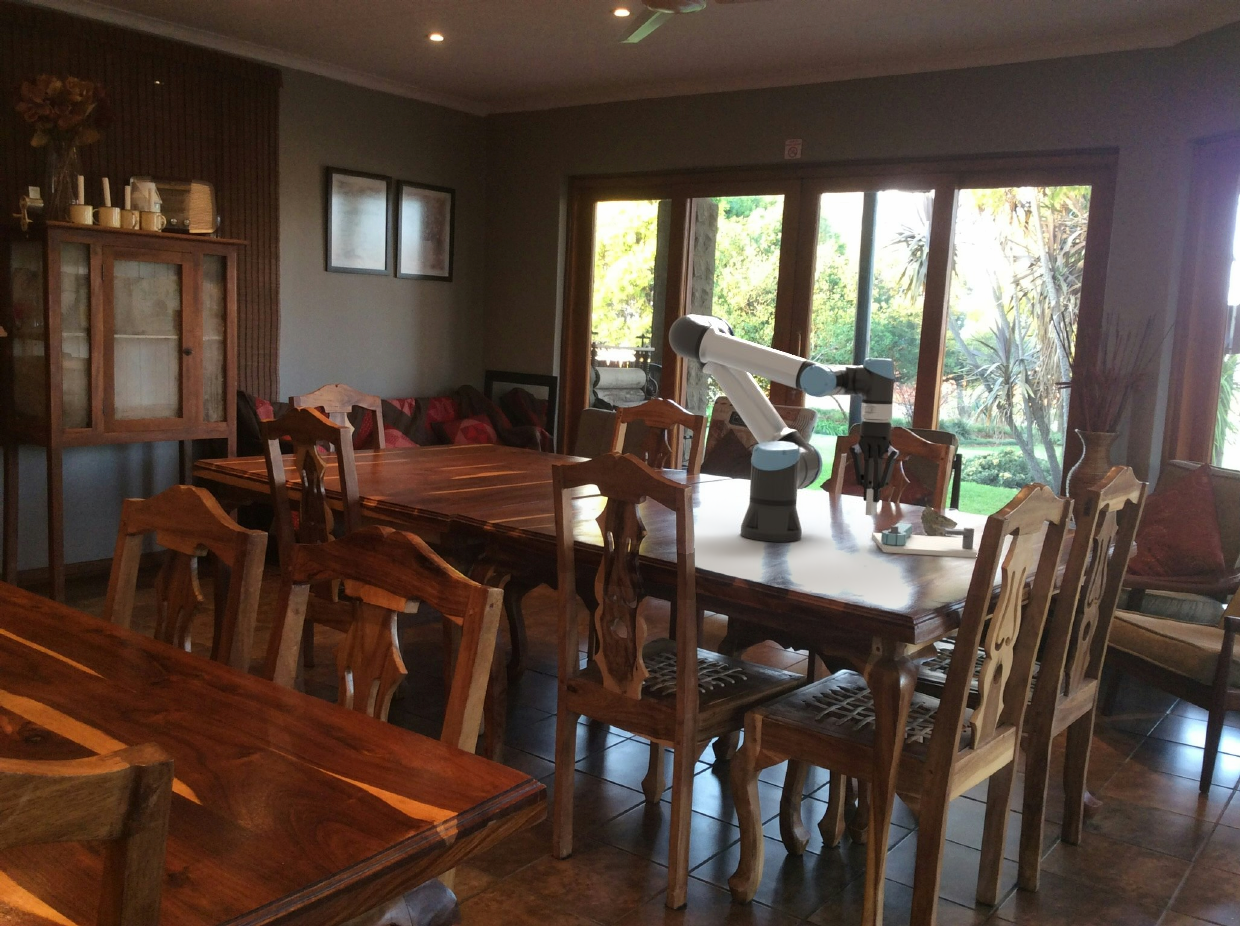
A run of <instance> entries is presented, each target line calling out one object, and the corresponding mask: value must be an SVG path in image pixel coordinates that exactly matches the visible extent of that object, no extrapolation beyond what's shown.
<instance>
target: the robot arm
mask: <svg viewBox="0 0 1240 926" xmlns="http://www.w3.org/2000/svg"><path fill="white" fill-rule="evenodd" d="M668 341H669V344H670V347H671V349H672V351H674V353H675V354H677V356H679V357H681V358H682V359H683V358H684V359H689V360H693V361H695V362H696V364H697V366H698V367H699V368H700V369H701V371H702V372H703V374H708V375H711V376H712V377H713V379H714V381H716V383H717V384H718V386H719V387H720V388H721V390H722V392H723V393H724V395H725V396H726V397H727V399H728V401H729V402H730V403H731V404H732V406H733V408H734V409H735V411H736V413H737V414H738V415H739V416H740V418H741V420H742V421H743V423H744V424H745V425H746V427H747V428H748V430H749V431H750V432H751V434H752V435H753V437H754V438H755V440H756V441H757V442H758V443H757V444H755V446H754V447H753V448H752V455H751V458H750V462H751V469H750V483H749V484H750V486H749V502H748V503H749V504H748V507H747V509H746V512H745V515H744V518H743V519H742V521H741V522H742V523H741V525H740V535H741V536H742V537H743V538H746V539H751V540H757V541H764V542H776V543H778V542H779V543H786V542H796V541H800V540H802V533H803V532H802V531H803V530H802V529H803V528H802V525H801V522H800V521H801V520H800V517H799V514H798V510H797V497H798V490H803V489H805V488H809V486H810V485H812V484H814V483H815V482H816V481H817V480H818V478H819V477H820V476H821V474H822V471H823V458H822V455H821V453H820V451H819V450H818V449H817V448H816V447H815V446H814V445H812V444H810V443H808V442H806V441H805V440H804V438H803V437H802V435H801V434H800V432H799V431H798V430H797V429H793V428H789V427H788V425H787V423H785V421H784V420H783V418H782V417H781V416H780V414H779V413H778V411H777V410H776V408H775V407H774V405H773V404H772V403H771V401H770V399H769V398H768V397H767V395H766V394H765V392H764V391H763V389H762V388H761V387H760V385H759V384H758V382H757V381H756V380H755V378H754V377H753V376H757V377H760V378H763V379H765V380H769V381H772V382H775V383H779V384H782V385H785V386H787V387H791V388H794V389H797V390H800V391H801V392H804V393H805V394H807V395H808V396H810V397H811V396H812V397H816V398H823V397H830V396H857V397H858V396H859V397H860V396H861V411H860V418H861V419H863V420H862V421H860V426H859V439H858V441H857V442H858V443H857V444H854V446H850V447H849V448H848V450H849V452H850V454H851V456H852V462H853V468H854V473H855V475H854V476H855V481H856V485H858V486H861V487H862V488H863V501H864V502H865V515H866V516H875V515H876V514H877V503H880V499H881V490H882V489H884V488H887V487H889V485H890V484H889V483H890V480H891V477H892V475H893V471H894V467H895V465H896V460H897V459H898V457H899V456H900V454H901V451H900V450H898V449H895V448H894V447H893V445H892V441H891V436H892V423H891V422H890V421H891V420H893V401H894V400H893V399H894V387H895V386H894V385H895V379H896V378H895V362H894V360H893V359H891V358H876V357H868V358H864V360H863V364H862V365H849V364H834V363H827V364H826V363H825V364H822V363H819V362H817V361H813V360H809V359H806V358H803V357H800V356H796V355H794V354H793V355H792V354H790V353H787V352H784V351H780V350H777V349H775V348H774V349H773V348H771V347H768V346H765V345H761V344H758V343H754V342H752V341H749V340H746V339H742V338H738V337H736V335H735V332H734V329H733V327H732V326H731V324H730V323H729V322H728V321H727V320H725V319H723V317H722V318H721V317H719V316H715V315H711V314H708V315H707V314H706V315H703V314H702V315H699V314H694V313H692V314H685V315H682V316H680V317H679V318H677V319H676V320H675V321H674V322H673V323H672V325H671V326H670V329H669V333H668ZM861 452H862V454H863V458H862V454H861ZM886 454H887V455H888V456H887V459H886V462H885V456H886ZM863 462H864V463H863ZM884 462H885V465H884V464H883V463H884ZM883 467H884V468H883Z"/></svg>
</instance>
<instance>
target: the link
mask: <svg viewBox="0 0 1240 926" xmlns="http://www.w3.org/2000/svg"><path fill="white" fill-rule="evenodd" d="M894 526H898V527H899V528H898V534H892V533H890V531H891V528H890V529H888V530H887V529H886V530H882V531H881V533H882V536H881V542H882V543H885V544H890V545H905V544H906V539H907V538H908V537H909V536H910V535H913V534H912V533H913V524H911V523H904V522H903V523H902V522H898V523H896V524H895V525H894Z"/></svg>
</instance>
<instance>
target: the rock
mask: <svg viewBox="0 0 1240 926" xmlns="http://www.w3.org/2000/svg"><path fill="white" fill-rule="evenodd" d="M920 520H921V524H922V527H923V530H924V533H925V534H926V536H939V537H946V534H945V533H944V528H949V529H956V527H957V526H958V523H957V522H956V521H954V520H953V519H951V518H949V517H948V516H946V515H943V514H940V513H939V512H938V511H936V510H935V509H933V508H932V507H931V506H929V505H928V504H926V505H925V508H924V509H923V510H922V513H921V516H920Z"/></svg>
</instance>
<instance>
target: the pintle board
mask: <svg viewBox="0 0 1240 926" xmlns="http://www.w3.org/2000/svg"><path fill="white" fill-rule="evenodd" d="M898 528H899V527H898V526H895V525H890V529H891V531H890V533H892V534H898ZM871 533H872V534H871V538H872V540H873V541H874V542H875V543H876V545H877V546H878V547H879V548H880V549H881V550H882V552H883V553H890V554H893V553H894V554H907V555H924V556H938V557H939V556H940V557H941V556H942V557H959V558H974V559H975V558H976V555H977V553H979V552H978V551H977V550H976V549H975V548H973V547H974V538H975V537H974V536H975V534H974V533H975V529H974V528H973V527H963V528H962V529H961V528H953V529H949V528H944V533H945V534H946V535H947V536H946V535H945V537H939V536H929V535H923V534H922V535H919V534H917V535H916V534H911V535H910V536H909V537H908V538H907V539H906V544H905V545H890V544H885V543H882V542H881V536H882V532H871ZM949 535H950V536H949ZM953 536H955V537H953ZM956 536H962V538H961V537H956Z"/></svg>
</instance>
